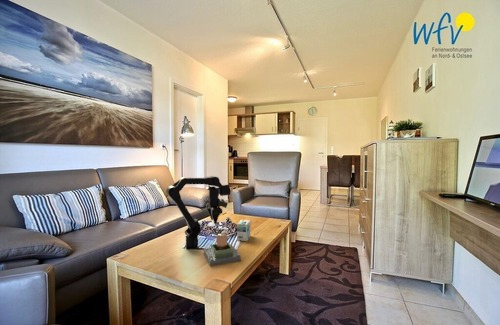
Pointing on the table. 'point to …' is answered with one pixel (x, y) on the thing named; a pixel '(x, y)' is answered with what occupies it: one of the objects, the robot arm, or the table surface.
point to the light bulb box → (243, 230)
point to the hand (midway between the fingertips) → (213, 221)
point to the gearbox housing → (221, 255)
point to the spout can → (222, 241)
